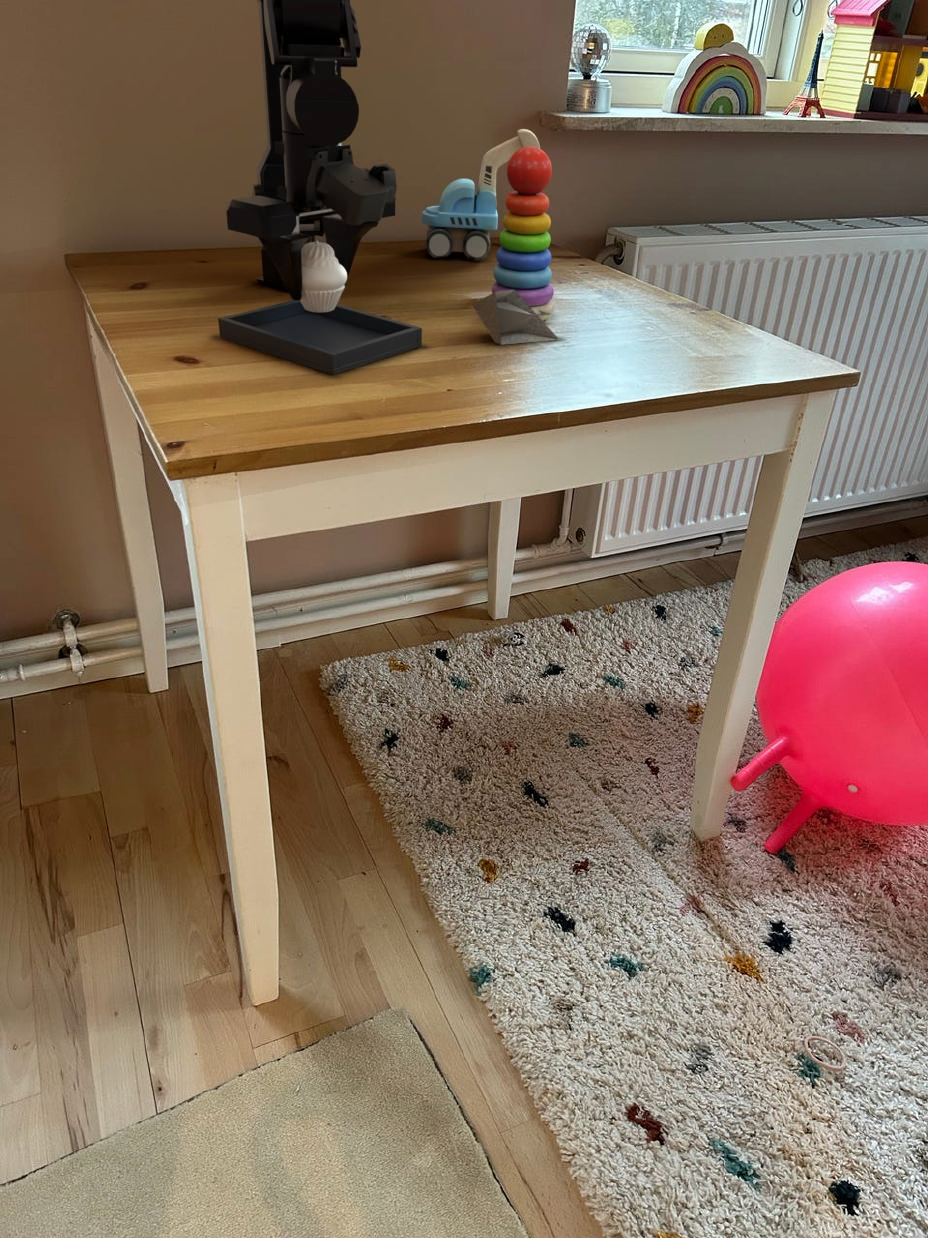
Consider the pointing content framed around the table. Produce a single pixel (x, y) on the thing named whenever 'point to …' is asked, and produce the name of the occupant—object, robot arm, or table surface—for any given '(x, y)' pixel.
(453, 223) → the toy excavator
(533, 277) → the stacking toy
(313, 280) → the muffin
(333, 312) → the tray
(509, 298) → the paper boat
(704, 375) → the table surface
